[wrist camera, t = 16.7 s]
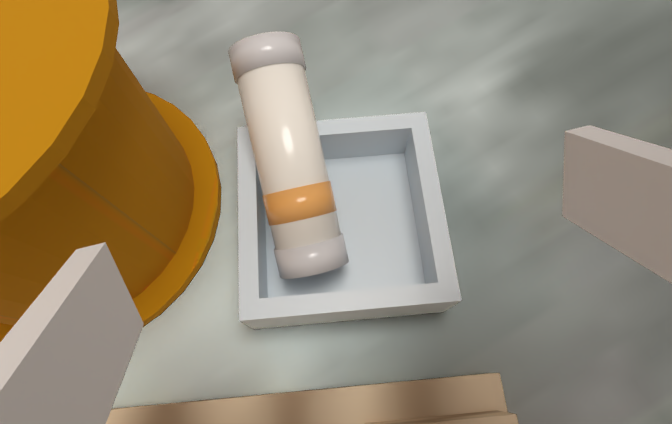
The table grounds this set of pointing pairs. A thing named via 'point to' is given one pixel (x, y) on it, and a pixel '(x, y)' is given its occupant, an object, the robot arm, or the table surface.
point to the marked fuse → (288, 154)
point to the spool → (93, 161)
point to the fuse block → (344, 405)
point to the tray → (356, 230)
